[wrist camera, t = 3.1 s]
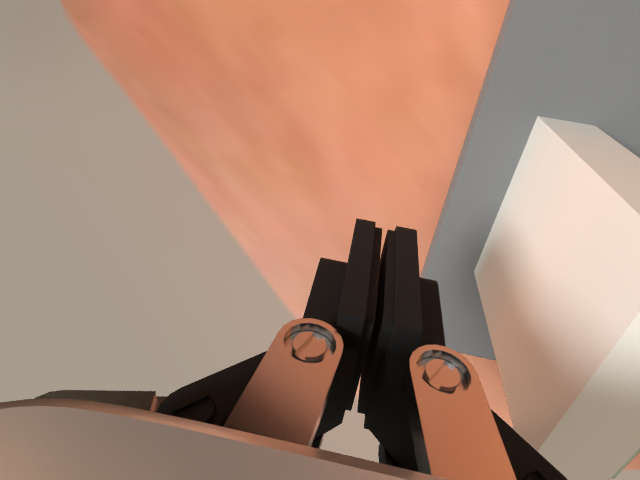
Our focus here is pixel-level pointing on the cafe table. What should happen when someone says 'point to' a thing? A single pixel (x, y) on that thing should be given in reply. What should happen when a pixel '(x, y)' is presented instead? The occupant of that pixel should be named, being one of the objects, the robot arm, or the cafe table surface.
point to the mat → (517, 123)
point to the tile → (569, 298)
